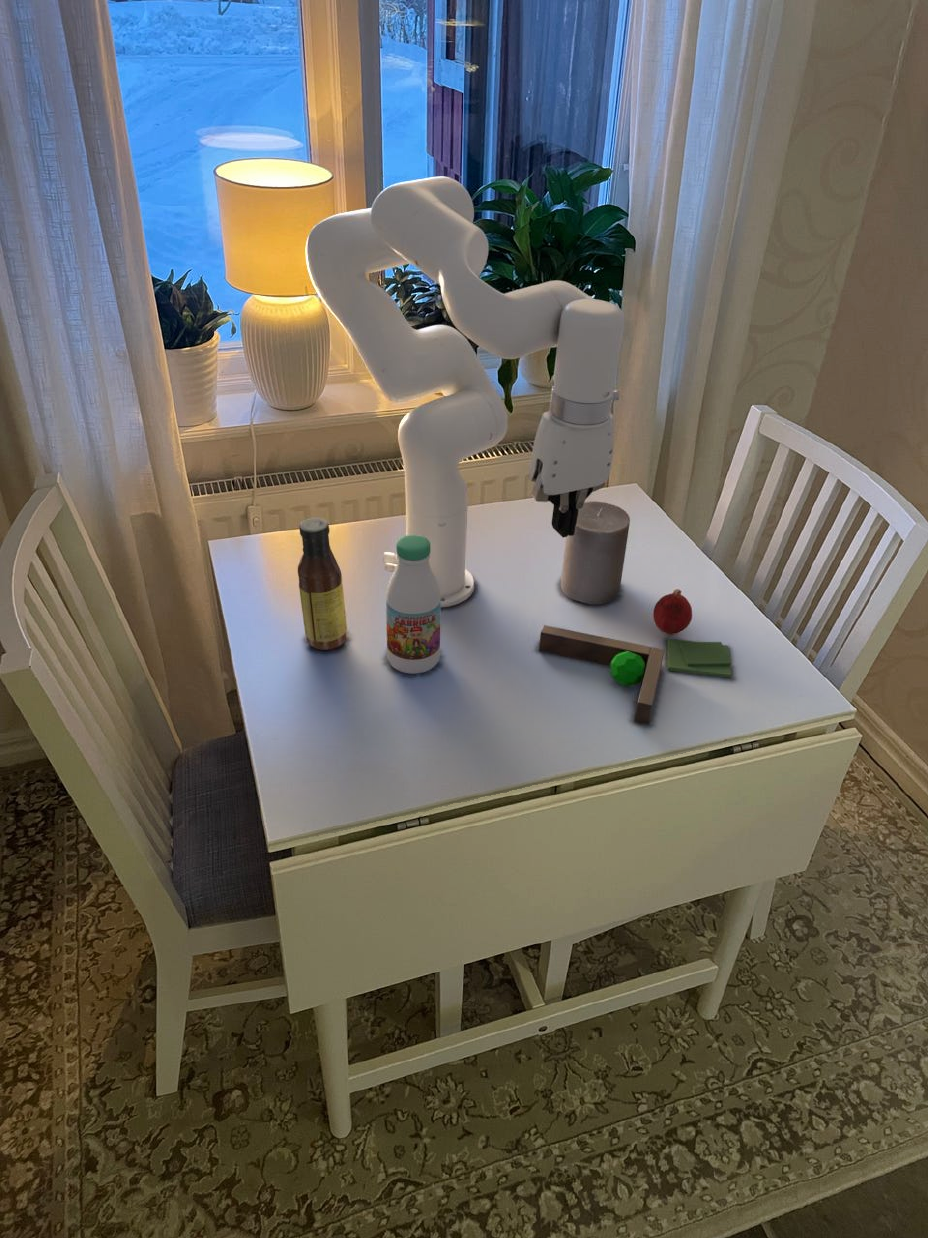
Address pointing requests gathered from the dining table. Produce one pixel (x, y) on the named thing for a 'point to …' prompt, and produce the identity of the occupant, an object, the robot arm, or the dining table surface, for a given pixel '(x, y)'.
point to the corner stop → (607, 659)
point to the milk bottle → (413, 609)
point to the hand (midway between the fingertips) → (562, 531)
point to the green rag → (699, 658)
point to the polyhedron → (627, 668)
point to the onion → (672, 613)
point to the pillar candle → (595, 554)
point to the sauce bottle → (321, 588)
